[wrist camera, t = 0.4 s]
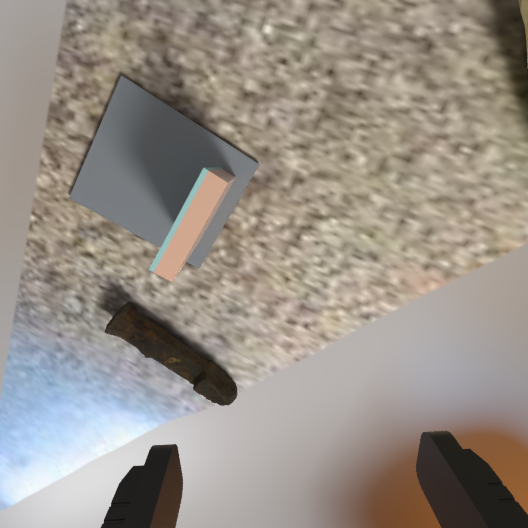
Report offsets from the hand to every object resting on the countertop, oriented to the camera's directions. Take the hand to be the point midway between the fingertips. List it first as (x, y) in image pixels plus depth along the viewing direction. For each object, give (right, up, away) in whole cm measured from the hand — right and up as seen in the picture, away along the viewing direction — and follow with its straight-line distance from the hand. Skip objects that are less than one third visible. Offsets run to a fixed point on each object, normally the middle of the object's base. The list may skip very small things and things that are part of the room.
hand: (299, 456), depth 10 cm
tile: (-7, +13, +25) cm, 29 cm away
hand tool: (-12, -5, +31) cm, 33 cm away
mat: (-12, +16, +24) cm, 31 cm away
